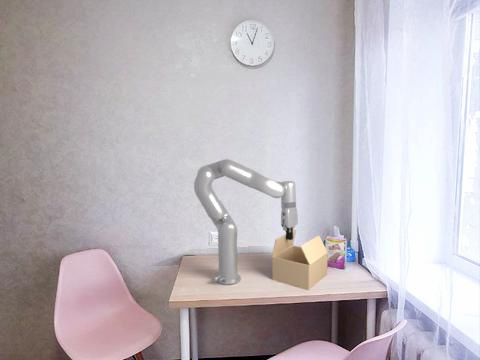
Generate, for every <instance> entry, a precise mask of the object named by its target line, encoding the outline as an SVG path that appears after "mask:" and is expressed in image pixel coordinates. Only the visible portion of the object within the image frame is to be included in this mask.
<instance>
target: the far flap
mask: <svg viewBox="0 0 480 360" xmlns="http://www.w3.org/2000/svg"><path fill="white" fill-rule="evenodd" d="M296 233H297V229H293V239H292V240H288V239H286V233H285V234H283V235H281V236H280V237H279V236H278V238H277V237H276V238H275V239H274V245H273V250H272V254H271V255H272V256H271V257H273V256H275V255H277V254H279V253H281V252H283V251H284V250H286V249H288V248H290V247H292V246H294V243H295V237H296Z"/></svg>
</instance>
